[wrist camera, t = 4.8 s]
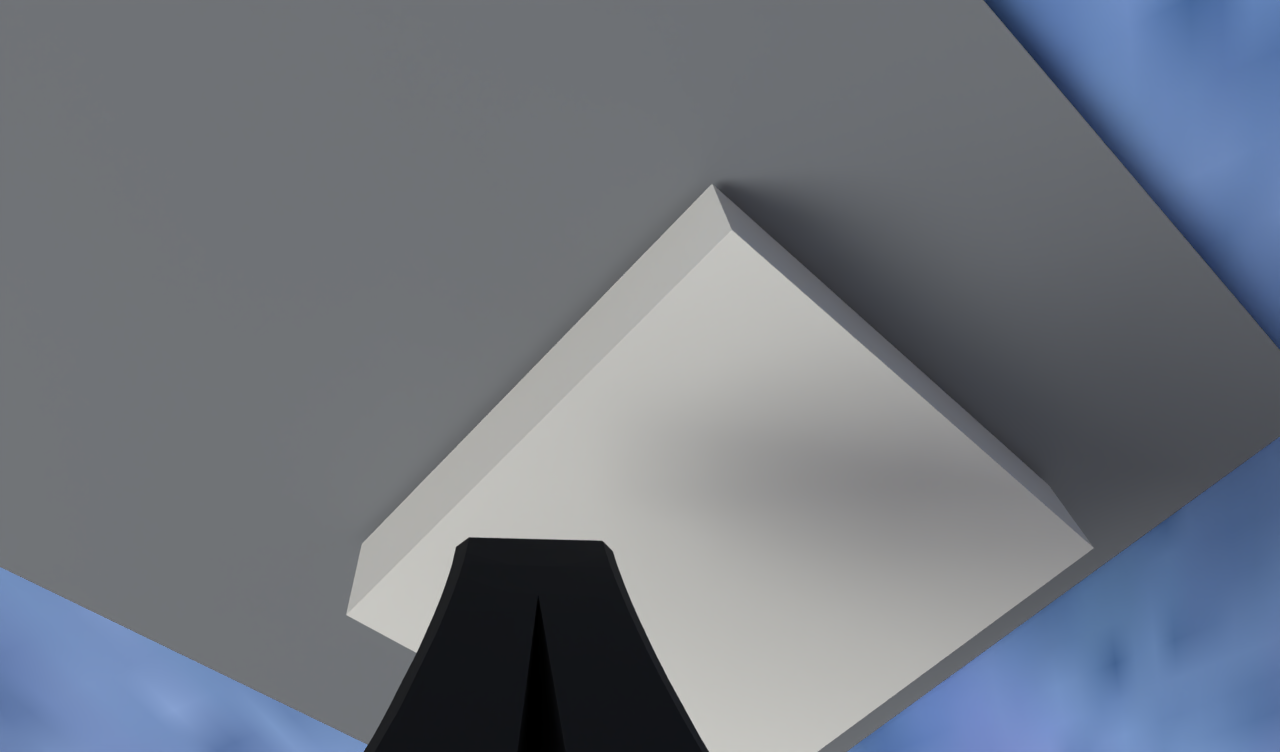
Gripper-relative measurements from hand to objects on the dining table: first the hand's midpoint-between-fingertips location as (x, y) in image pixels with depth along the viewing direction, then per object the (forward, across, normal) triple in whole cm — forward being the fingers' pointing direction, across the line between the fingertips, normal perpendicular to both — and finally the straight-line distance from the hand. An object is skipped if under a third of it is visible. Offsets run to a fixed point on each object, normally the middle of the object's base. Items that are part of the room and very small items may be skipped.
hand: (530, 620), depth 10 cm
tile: (+4, 0, 0) cm, 4 cm away
